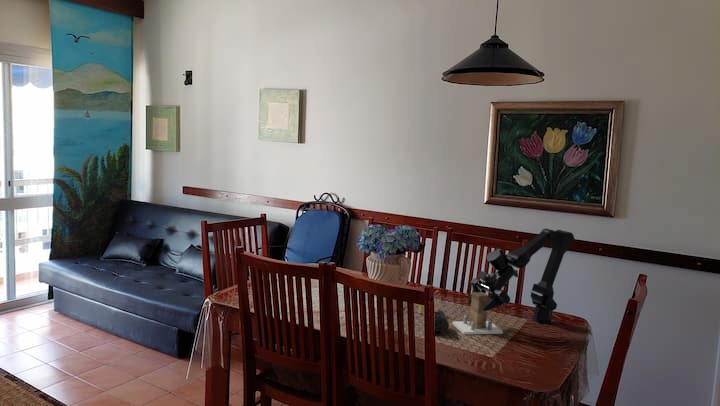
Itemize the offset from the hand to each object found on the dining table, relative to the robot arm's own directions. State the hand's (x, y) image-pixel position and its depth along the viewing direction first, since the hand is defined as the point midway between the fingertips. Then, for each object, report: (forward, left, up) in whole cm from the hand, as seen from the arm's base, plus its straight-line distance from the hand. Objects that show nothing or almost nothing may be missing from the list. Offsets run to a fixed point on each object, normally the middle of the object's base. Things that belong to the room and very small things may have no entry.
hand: (476, 306), depth 195 cm
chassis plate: (-1, 0, -9) cm, 9 cm away
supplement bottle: (+14, -19, -9) cm, 25 cm away
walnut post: (-1, 0, -8) cm, 8 cm away
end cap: (+16, +1, -9) cm, 18 cm away
